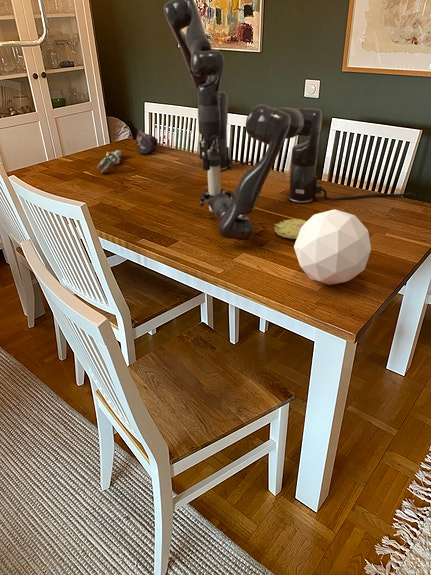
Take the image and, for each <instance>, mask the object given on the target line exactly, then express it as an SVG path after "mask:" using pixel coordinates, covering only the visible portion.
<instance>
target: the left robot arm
mask: <svg viewBox="0 0 431 575" xmlns="http://www.w3.org/2000/svg"><path fill="white" fill-rule="evenodd" d="M163 13H164V16H165V19H166V21H167V24H168V26H169V28H170V31H171V32H172V34H173V36H174V38H175V40H176V43H177V45H178V46H179V49H180V52H181V54H182V57H183V61H184V63H185V65H186V67H187V71H188V72H189V75H190V77H191V79H192V82H193V84H194V88H195V90H196V93H197V122H198V123H197V124H198V133H199V134H200V135H202V136H203V138H202V140H199V142H198V145H199V146H198V149H199V160H202V166H203V167H202V168H203V171H209V170H210V156H219V157H221V165H220V172H223V171H226V170H227V169H229V168H230V165H233V162H234V163H238V164H241V165H248V164H251V163H252V160H250V161H249V160H248V161H245V162H243V161H241V160H237V159H233V158H231V157H230V148H229V146H228V121H229V120H228V115H229V111H228V110H229V98H228V94H227V93H226V92H225V91H220V88H221V83H222V77H223V73H224V71H225V70H224V69H225V63H226V62H225V57H224V54H223V52H221V50H218V49H213V48H212V44H211V42H210V40H209V38H208V36H207V34H206V31H205V28H204V25H203V21H202V18H201V15H200V12H199V9H198V6H197V4H196V2H195V0H169V1H168V2H166V3H164V5H163ZM186 28H187V29H186ZM183 29H186V33H185V32H184V31H183Z"/></svg>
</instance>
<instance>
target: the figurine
mask: <svg viewBox="0 0 431 575" xmlns="http://www.w3.org/2000/svg"><path fill="white" fill-rule="evenodd" d="M122 153H123V152H122V150H115V151H111V152H110V151H107V152H106V153H105V155H106V156H104V157H103V158H102V159H101V161H100V162H99V163H98V165H97V167H96V169H97V170H100V173H101V174H104V173H105V172H106V171H107V170H108V169H109V168H110V167H111V166H112V165H119V164H120V160H121V158H122V157H123V154H122Z"/></svg>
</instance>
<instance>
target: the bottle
mask: <svg viewBox="0 0 431 575" xmlns="http://www.w3.org/2000/svg"><path fill="white" fill-rule="evenodd" d="M206 171H207V170H206ZM221 172H222V171H220V165H219V166H210V170H209V171H207V190H208V192H209V193H212V194H214V195H217V194H220V193H221V188H222V178H221V175H222V173H221ZM208 211H210V212H212V213H213V211H212V209H211V207H210V206H209V205H208Z"/></svg>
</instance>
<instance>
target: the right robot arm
mask: <svg viewBox="0 0 431 575" xmlns="http://www.w3.org/2000/svg"><path fill="white" fill-rule="evenodd" d="M322 123H323V114H322V110H321V109H319V108H311V107H297V108H295V107H291V106H284V107H281V106H279V107H273V106H269V105H268V104H263V103H261V104H257V105H255V106H254V107H253V108H252V109H251V110H250V111H249V113H248V114H247V117H246V120H245V132H246V134H247V135H248V136H249V137H250V138H251V139H254V140H255V141H258V142H260V143H263V144H266V145H268V147H267V148H266V152H265V153H264V155H263V156H262V158H261V159H260V160H259V161H258V162H257V163H255V165H253V166H252V167H251V168H250V169H248V170H247V171H246V172H245V173H244V174H243V175H242V176H241V178H240V179H239V180H238V184H237V185H236V188H235V192H233V191H231V190H227V191H226V190H225V189H224V188H222V187H221V193H220V194H217V195H214V194H212V193H209V192H208V188H205V189H204V190H203V193H200V196H199V206H200V207H204V205H207V206H208V207H209V206H210V207H211V209H212V211H213V212H212V211H211V212H212V213H213V215H214V217H215V218H216V219H217V220H218V222H219V223H218V234H219V235H220V237H221V238H224V239H229V240H235V241H243V242H245V241H247V240H249V239H250V238H252V236H253V234H254V224H253V222H252V220H251V219H250V218H249V217H248V216H247V215H249V214H252V213H254V211H255V209H256V207H257V204H258V200H259V198H260V195H261V193H262V192H261V191H262V190H263V186H264V184H265V182H266V180H267V178H268V176H269V173H270V172H271V170H272V168H273V166H274V164H275V162H276V160H277V159H278V156H279V153H280V151H281V150H282V147H283V145H284V144H285V141H286V140H288V139H293V138H295V137H297V136H299V137H300V136H301V137H308V140H306V141H305V142H300V143H297V144H295V145H293V146H292V148H291V161H290V175H289V190H288V201H290V202H291V203H294V204H299V205H300V204H304V205H305V204H309V203H312V202H315V201H316V196H317V195H318V194H322V192H323V197H324V199H325V200H329V201H341V200H353V199H363V198H372V197H406V196H410V197H412V198H417V195H415V194H414V193H412V192H404V193H371V194H360V195H352V196H351V195H349V196H340V197H333V198H331V197H329V196H328V191H327V190H326V189H325V188H323V186H322V185H321V184H319V182H318V176H317V175H316V173H317V160H318V152H319V144H320V135H321V129H322Z"/></svg>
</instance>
